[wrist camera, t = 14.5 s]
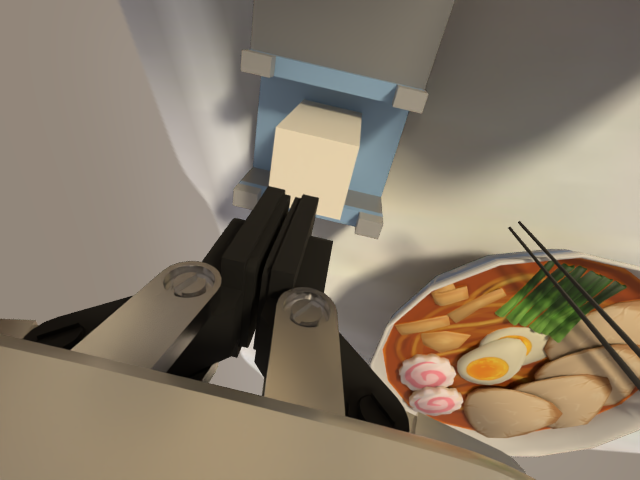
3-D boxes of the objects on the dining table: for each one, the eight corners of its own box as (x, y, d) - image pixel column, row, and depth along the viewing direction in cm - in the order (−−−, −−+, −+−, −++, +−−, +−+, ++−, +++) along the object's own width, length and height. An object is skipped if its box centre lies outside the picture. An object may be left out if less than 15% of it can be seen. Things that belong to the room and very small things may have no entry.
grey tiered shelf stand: (306, -353, 14) (276, -549, 9) (538, -298, 14) (624, -467, 9) (256, 176, 27) (232, 205, 22) (376, 204, 27) (377, 239, 22)
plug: (303, 99, 22) (275, 126, 15) (361, 113, 22) (359, 146, 15) (294, 156, 24) (266, 202, 17) (347, 168, 24) (339, 220, 17)
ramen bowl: (313, 292, 32) (298, 360, 26) (545, 125, 22) (625, 165, 15) (460, 414, 40) (480, 494, 33) (686, 332, 30) (783, 422, 23)
